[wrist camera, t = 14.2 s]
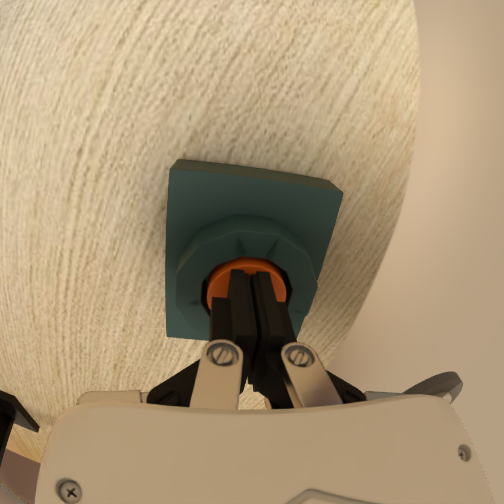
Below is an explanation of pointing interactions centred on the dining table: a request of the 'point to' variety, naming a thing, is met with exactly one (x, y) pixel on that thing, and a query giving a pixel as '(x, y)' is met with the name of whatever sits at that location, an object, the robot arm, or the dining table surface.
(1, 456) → the bracket
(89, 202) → the dining table surface
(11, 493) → the lever
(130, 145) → the dining table surface
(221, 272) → the button
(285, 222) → the button box
